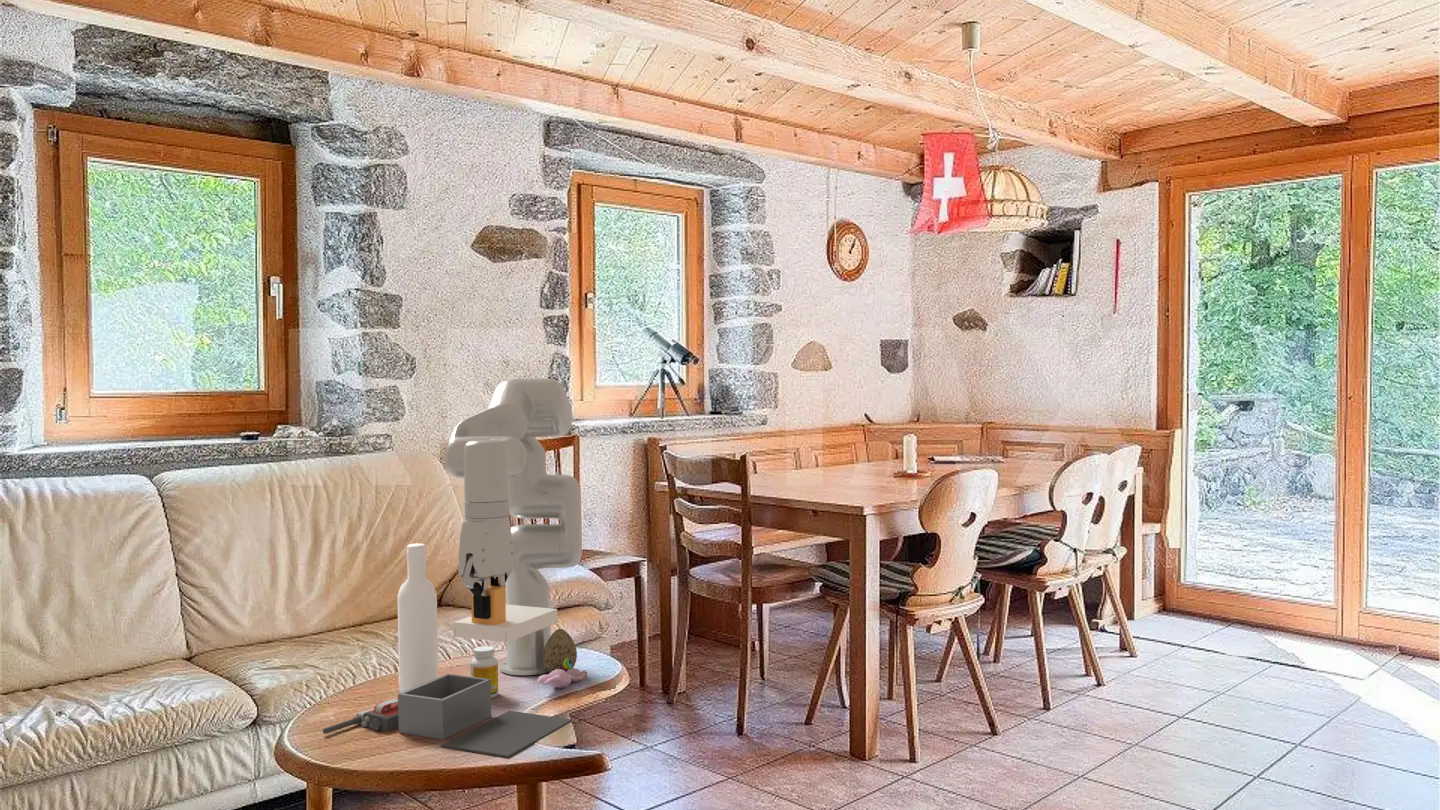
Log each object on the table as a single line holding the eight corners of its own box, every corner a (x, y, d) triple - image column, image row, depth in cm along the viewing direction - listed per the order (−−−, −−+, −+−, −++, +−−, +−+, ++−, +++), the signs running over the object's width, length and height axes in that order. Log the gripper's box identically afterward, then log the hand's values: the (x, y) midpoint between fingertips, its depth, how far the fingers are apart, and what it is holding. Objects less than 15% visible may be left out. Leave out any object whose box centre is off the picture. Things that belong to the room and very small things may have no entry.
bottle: (432, 695, 211) (429, 547, 210) (393, 696, 211) (390, 548, 210) (443, 684, 219) (440, 541, 218) (406, 684, 219) (403, 541, 218)
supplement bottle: (466, 695, 211) (465, 648, 211) (490, 690, 215) (489, 643, 214) (478, 701, 207) (477, 653, 207) (503, 696, 210) (502, 648, 210)
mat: (509, 712, 200) (509, 710, 200) (572, 721, 194) (572, 719, 194) (441, 746, 182) (441, 744, 182) (507, 758, 176) (507, 755, 176)
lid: (506, 617, 197) (505, 572, 197) (557, 622, 192) (556, 576, 192) (453, 636, 183) (452, 587, 182) (507, 642, 178) (506, 592, 178)
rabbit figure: (568, 682, 224) (527, 690, 211) (570, 654, 225) (529, 660, 211) (593, 686, 221) (553, 694, 208) (595, 657, 222) (555, 663, 209)
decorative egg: (541, 671, 227) (541, 625, 227) (573, 668, 229) (574, 623, 229) (545, 681, 220) (545, 634, 220) (579, 678, 222) (579, 632, 222)
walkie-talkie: (407, 707, 205) (319, 738, 188) (407, 685, 205) (319, 713, 188) (438, 715, 200) (351, 747, 184) (438, 692, 200) (350, 722, 183)
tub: (448, 709, 202) (448, 673, 202) (491, 716, 198) (490, 679, 198) (398, 732, 189) (397, 694, 189) (443, 739, 185) (442, 700, 185)
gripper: (497, 504, 191) (499, 604, 192) (438, 515, 176) (440, 624, 177) (531, 506, 188) (533, 608, 188) (475, 517, 173) (477, 628, 174)
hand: (488, 614), depth 183 cm, fingers closed on lid, 3 cm apart
